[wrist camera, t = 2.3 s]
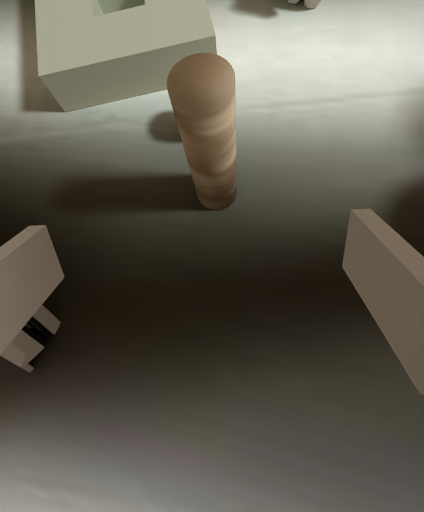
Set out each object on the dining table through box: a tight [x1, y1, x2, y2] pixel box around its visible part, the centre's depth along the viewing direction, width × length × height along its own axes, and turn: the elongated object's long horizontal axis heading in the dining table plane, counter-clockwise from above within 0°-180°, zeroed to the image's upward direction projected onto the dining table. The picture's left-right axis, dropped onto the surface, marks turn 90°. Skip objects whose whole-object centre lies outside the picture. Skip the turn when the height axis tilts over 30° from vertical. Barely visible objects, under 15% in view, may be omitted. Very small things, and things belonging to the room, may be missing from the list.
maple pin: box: [167, 53, 237, 210], centre depth 25 cm, size 4×4×14 cm
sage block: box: [35, 0, 217, 112], centre depth 36 cm, size 18×18×5 cm
